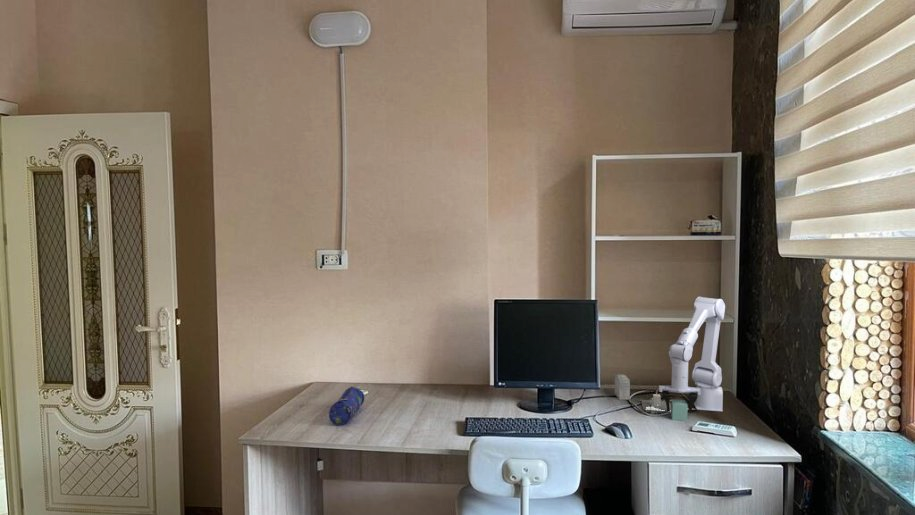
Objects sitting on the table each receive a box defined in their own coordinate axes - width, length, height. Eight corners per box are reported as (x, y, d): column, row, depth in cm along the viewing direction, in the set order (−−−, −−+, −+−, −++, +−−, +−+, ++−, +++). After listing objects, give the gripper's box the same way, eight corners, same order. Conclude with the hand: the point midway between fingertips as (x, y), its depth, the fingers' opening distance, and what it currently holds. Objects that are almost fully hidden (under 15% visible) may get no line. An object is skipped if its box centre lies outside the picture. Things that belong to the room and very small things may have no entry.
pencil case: (350, 427, 205) (350, 402, 204) (327, 427, 205) (327, 401, 205) (365, 407, 227) (365, 384, 226) (344, 406, 227) (344, 383, 227)
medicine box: (629, 400, 234) (630, 379, 233) (619, 400, 234) (619, 379, 233) (624, 394, 242) (625, 374, 241) (614, 394, 242) (614, 374, 241)
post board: (669, 403, 229) (669, 392, 228) (672, 412, 218) (673, 400, 218) (641, 401, 231) (641, 390, 231) (643, 410, 221) (643, 398, 220)
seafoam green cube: (685, 416, 214) (685, 400, 214) (687, 421, 209) (687, 405, 209) (670, 415, 216) (671, 399, 215) (672, 419, 211) (672, 403, 210)
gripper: (660, 377, 209) (659, 413, 210) (702, 380, 206) (701, 416, 207) (658, 372, 216) (657, 407, 217) (699, 375, 212) (698, 410, 213)
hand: (678, 411), depth 212 cm, fingers open, 7 cm apart
